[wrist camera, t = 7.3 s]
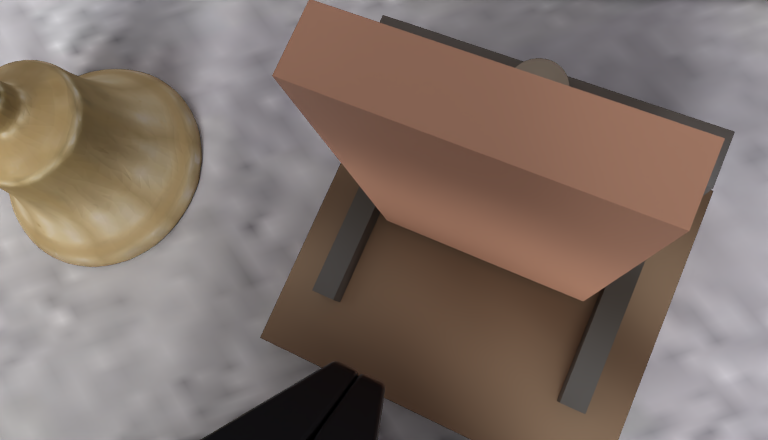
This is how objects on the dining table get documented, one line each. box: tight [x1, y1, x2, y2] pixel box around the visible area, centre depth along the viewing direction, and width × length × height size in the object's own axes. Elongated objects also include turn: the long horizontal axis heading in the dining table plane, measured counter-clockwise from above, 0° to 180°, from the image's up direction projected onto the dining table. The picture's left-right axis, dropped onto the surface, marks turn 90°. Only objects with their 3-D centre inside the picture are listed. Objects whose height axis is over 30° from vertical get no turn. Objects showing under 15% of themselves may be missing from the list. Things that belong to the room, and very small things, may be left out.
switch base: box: [260, 15, 734, 440], centre depth 20 cm, size 10×12×7 cm
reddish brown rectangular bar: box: [272, 0, 725, 301], centre depth 16 cm, size 2×7×12 cm, turn 66°
